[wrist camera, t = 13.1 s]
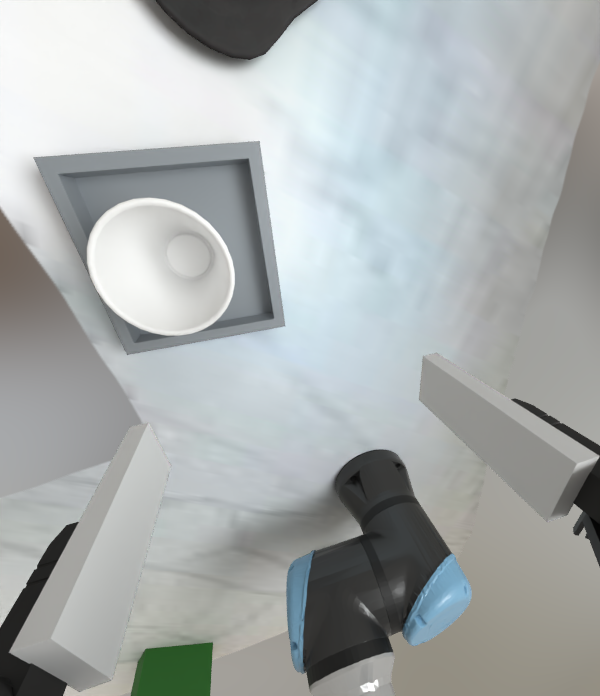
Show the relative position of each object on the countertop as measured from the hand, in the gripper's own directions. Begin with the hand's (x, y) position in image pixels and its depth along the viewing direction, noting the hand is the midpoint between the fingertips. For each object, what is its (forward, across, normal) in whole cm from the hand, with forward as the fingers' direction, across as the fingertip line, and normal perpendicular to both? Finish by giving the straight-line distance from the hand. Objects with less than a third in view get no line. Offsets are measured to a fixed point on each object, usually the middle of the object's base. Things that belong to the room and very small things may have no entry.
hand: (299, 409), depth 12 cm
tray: (+23, +7, -6) cm, 25 cm away
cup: (+23, +7, -6) cm, 24 cm away
